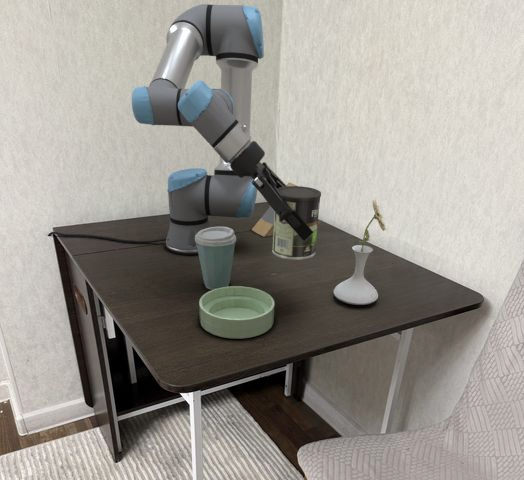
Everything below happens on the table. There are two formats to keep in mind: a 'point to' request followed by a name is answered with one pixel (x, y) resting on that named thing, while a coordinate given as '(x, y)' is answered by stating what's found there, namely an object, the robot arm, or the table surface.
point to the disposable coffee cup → (216, 255)
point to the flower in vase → (360, 272)
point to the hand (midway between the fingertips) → (308, 228)
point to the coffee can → (284, 235)
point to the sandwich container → (267, 221)
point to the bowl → (236, 312)
